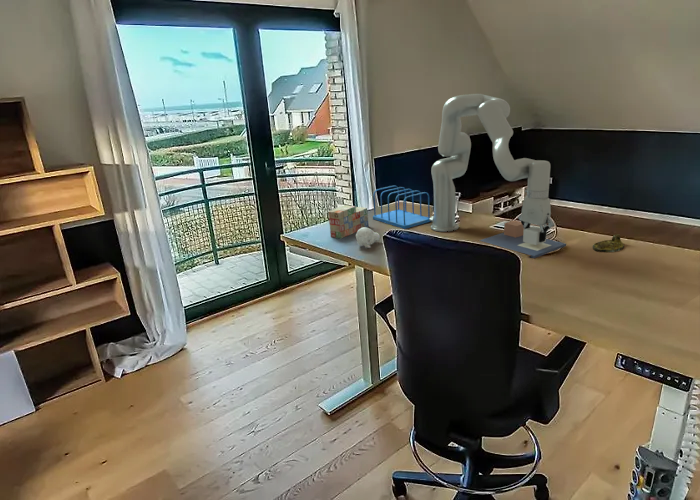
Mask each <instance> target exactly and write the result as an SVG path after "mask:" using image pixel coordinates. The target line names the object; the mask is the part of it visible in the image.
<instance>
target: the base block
mask: <svg viewBox="0 0 700 500" xmlns="http://www.w3.org/2000/svg"><path fill="white" fill-rule="evenodd" d="M540 232H541V230H540V226H536V225H533V226H530V228H527V229H524V233H523V242H526V243H530V244H534V245H538V244H541V243H544V242H546V239H547V238H546V239H545V241H543V242H539V235H540ZM547 232H548V231H546V236H548V235H547V234H548V233H547Z"/></svg>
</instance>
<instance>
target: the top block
mask: <svg viewBox="0 0 700 500" xmlns="http://www.w3.org/2000/svg"><path fill="white" fill-rule="evenodd" d="M503 226H504V227H503V233H504V235H508V236H511V237H515V238H516V237H519V236H522V235H523V233H524V228H523V225H522V223H521V221H520V220H515V219H514V220H510V221H508V222H504V225H503Z"/></svg>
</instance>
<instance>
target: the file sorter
mask: <svg viewBox="0 0 700 500" xmlns="http://www.w3.org/2000/svg"><path fill="white" fill-rule="evenodd" d="M385 189H387V190H385ZM381 190H384V191H382V192H381V193H380V196H379V197H380V200H379V201H380V214H377V213H376V198H375V197H376V192H377V191H381ZM395 190H397V191H395ZM390 191H391V192H390ZM392 191H393V192H392ZM387 192H390V193H389V194H388V195H387V212H383V199H382V196H383V194H384V193H387ZM402 192H404V193H402ZM416 192H417V193H416ZM396 193H397V195H396V197H395V200H394V202H395V206H394V208H395V210H391V211H390V196H391V195H393V194H394V195H395V194H396ZM414 193H416V194H414ZM408 194H411V195H408ZM424 194H426V195H427V214H428V215H427V216H425V215H422V213H423V210H422V195H424ZM407 195H408V196H407ZM400 196H404V199H403V200H402V201H403V202H402V203H403V205H402V206H403V207H402V209H400ZM414 196H419V212H420V213H419V214H418V213H415V212H414V211H415V208H414V206H415V205H414V204H415V201H414V200H415V199H414ZM372 197H373V211H374V213H373V215H372V220H375V221H379V222H382V223H383V224H384V223H385V224H388V225H391V226H394V227H397V228H399V229H404V230H406V229H409V228H413V227H417V226H420V225H424V224H427V223H430V222H432V221H430V220H429V219H430V218H431V214H430V211H431V209H430V194H429V193H428V192H425V191H424V192H421V191H420V190H419V189H418V190H417V189H416V190H413V189H411V188H405V187H404V186H399V187H398V186H397V185H389V186H385V187H380V188H377V189H375V190H374V191H373V196H372ZM408 198H411V199H412V200H411V204H412V208H411V209H412V212H411V211H407V199H408Z"/></svg>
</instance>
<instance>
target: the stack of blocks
mask: <svg viewBox="0 0 700 500" xmlns="http://www.w3.org/2000/svg"><path fill="white" fill-rule="evenodd" d="M328 221H329V232H330V237H331V238H335V239H343V238H346V237H348V236H350V235H352V234H355V233H357V231H358V230H359V229H361V228H363V227H366V228H369V213H368V207H363V206H362V207H360V206H356V205H347V204H344V205H342V206H339V207H337V208H335V209H331V210H329V211H328Z"/></svg>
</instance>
